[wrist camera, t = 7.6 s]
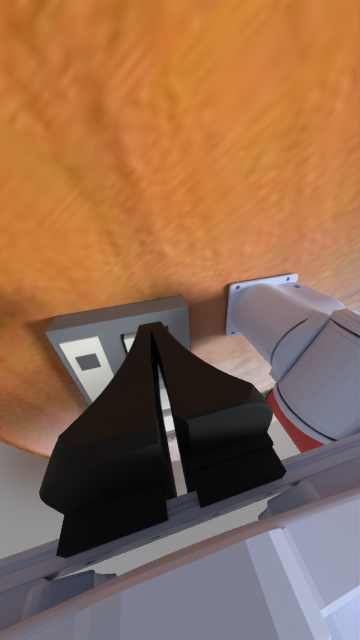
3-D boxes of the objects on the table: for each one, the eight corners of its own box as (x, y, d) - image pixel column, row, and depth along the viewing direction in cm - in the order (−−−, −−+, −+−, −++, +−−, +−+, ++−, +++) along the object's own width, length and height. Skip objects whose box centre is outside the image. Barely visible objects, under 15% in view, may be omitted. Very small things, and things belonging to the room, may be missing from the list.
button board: (181, 295, 21) (188, 307, 19) (190, 411, 35) (195, 428, 32) (55, 316, 19) (43, 334, 17) (117, 431, 33) (115, 452, 30)
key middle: (169, 368, 25) (174, 386, 23) (172, 388, 28) (177, 406, 25) (138, 376, 25) (139, 394, 22) (144, 395, 27) (145, 414, 25)
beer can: (294, 392, 41) (348, 451, 31) (269, 407, 42) (313, 469, 32) (287, 379, 37) (345, 441, 27) (260, 396, 38) (306, 462, 28)
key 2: (173, 396, 30) (177, 413, 28) (176, 411, 33) (179, 427, 30) (148, 403, 30) (149, 421, 27) (152, 417, 32) (154, 435, 30)
